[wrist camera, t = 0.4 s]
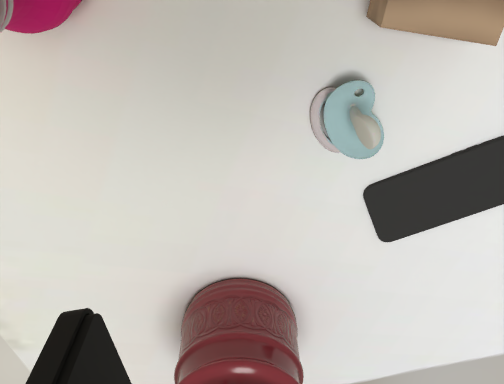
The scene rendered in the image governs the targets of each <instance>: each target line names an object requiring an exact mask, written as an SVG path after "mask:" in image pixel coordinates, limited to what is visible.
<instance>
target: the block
mask: <svg viewBox="0 0 504 384" xmlns="http://www.w3.org/2000/svg"><path fill="white" fill-rule="evenodd" d="M366 17H368V18H369V19H370V20H372V21H373V22H374V23H376V24H377V25H378V26H380V27H382V28H388V29H394V30H400V31H407V32H413V33H419V34H425V35H431V36H437V37H444V38H450V39H456V40H462V41H468V42H475V43H481V44H487V45H493V46H496V45H497V43H498V40H499V38H500V35H501V32H502V30H503V27H504V0H370V4H369V8H368V12H367V16H366Z"/></svg>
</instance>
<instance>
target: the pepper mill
mask: <svg viewBox="0 0 504 384" xmlns="http://www.w3.org/2000/svg"><path fill="white" fill-rule="evenodd" d="M81 1H82V0H0V32H2V31H3V30H4V28H5V29H7V30H11V31H15V32H21V33H39V32H43V31H47V30H50V29H53V28H55V27H57V26H59V25H60V24H62V23H63V22H64V21H65V20H66V19H67V18H68V17H69V16H70V14H71V13H72V11H73V9H75V8H76V7H77V6H78V5H79V4H80V2H81Z"/></svg>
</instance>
